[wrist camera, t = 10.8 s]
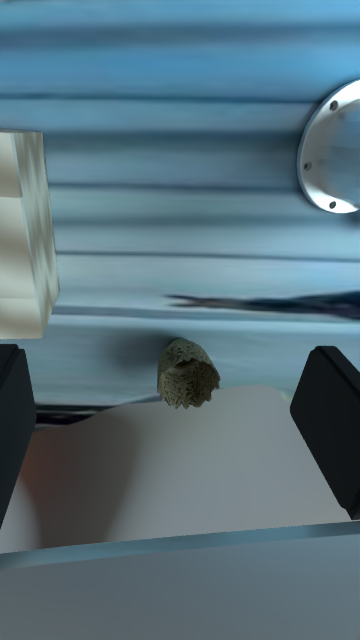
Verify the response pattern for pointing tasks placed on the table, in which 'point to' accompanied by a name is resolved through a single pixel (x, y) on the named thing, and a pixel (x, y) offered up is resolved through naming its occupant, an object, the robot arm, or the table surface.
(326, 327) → the table surface
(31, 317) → the box
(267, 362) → the table surface
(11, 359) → the robot arm
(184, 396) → the cup
